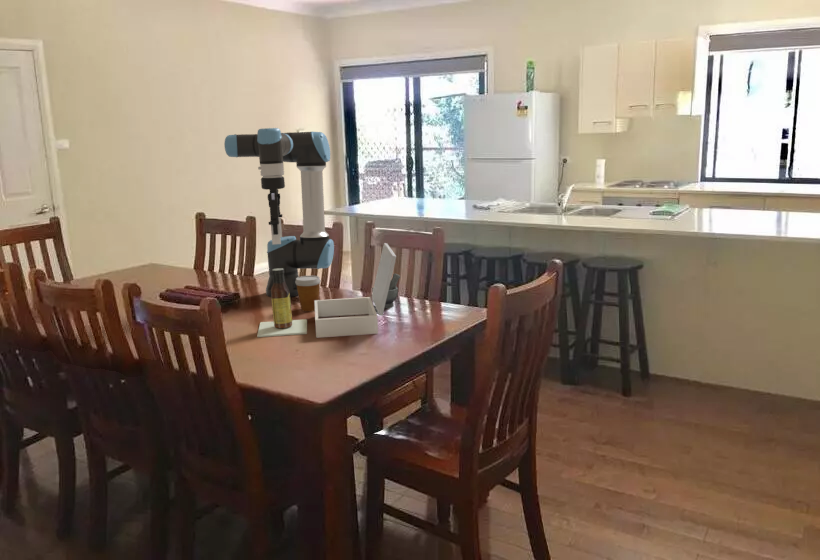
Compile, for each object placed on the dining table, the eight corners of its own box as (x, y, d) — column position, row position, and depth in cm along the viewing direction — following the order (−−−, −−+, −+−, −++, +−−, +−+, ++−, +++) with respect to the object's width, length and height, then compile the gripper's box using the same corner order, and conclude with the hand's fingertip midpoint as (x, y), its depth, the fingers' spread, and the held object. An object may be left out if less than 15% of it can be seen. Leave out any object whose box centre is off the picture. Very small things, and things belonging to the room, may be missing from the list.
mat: (260, 323, 239) (260, 322, 239) (306, 320, 241) (306, 319, 241) (257, 337, 223) (257, 335, 223) (306, 333, 225) (306, 332, 225)
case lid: (384, 242, 244) (387, 243, 244) (371, 296, 248) (374, 297, 248) (392, 255, 219) (396, 256, 219) (378, 315, 222) (382, 315, 223)
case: (315, 316, 246) (314, 300, 245) (370, 313, 249) (370, 296, 248) (316, 337, 221) (315, 319, 220) (378, 333, 224) (377, 315, 222)
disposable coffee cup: (317, 313, 251) (315, 281, 248) (293, 312, 253) (290, 280, 250) (325, 306, 260) (324, 275, 258) (302, 305, 262) (300, 275, 259)
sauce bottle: (296, 326, 232) (292, 268, 228) (280, 330, 228) (276, 271, 224) (285, 323, 237) (281, 266, 233) (269, 326, 233) (265, 269, 228)
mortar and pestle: (378, 310, 252) (377, 278, 249) (368, 305, 260) (367, 274, 258) (406, 306, 257) (405, 275, 254) (395, 301, 265) (394, 270, 262)
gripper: (262, 173, 236) (267, 234, 241) (258, 180, 212) (264, 248, 217) (284, 172, 237) (289, 233, 242) (283, 179, 213) (288, 246, 218)
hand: (277, 240), depth 229 cm, fingers open, 13 cm apart
